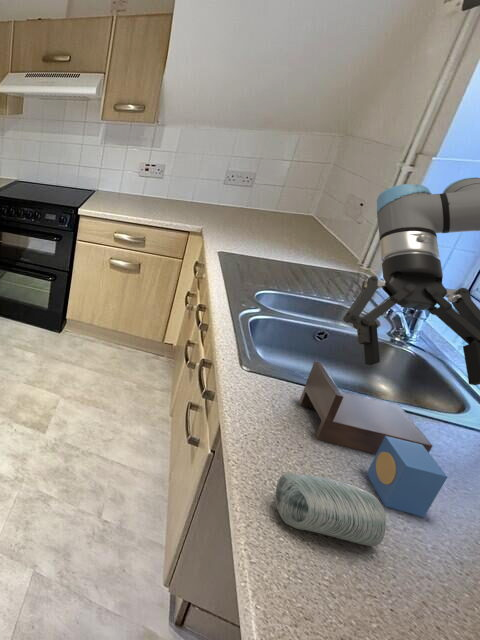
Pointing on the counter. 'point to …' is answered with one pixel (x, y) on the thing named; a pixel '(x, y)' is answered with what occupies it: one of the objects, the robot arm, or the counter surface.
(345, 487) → the spool
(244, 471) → the counter surface
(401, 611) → the counter surface
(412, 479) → the box
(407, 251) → the robot arm
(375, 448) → the shelf
